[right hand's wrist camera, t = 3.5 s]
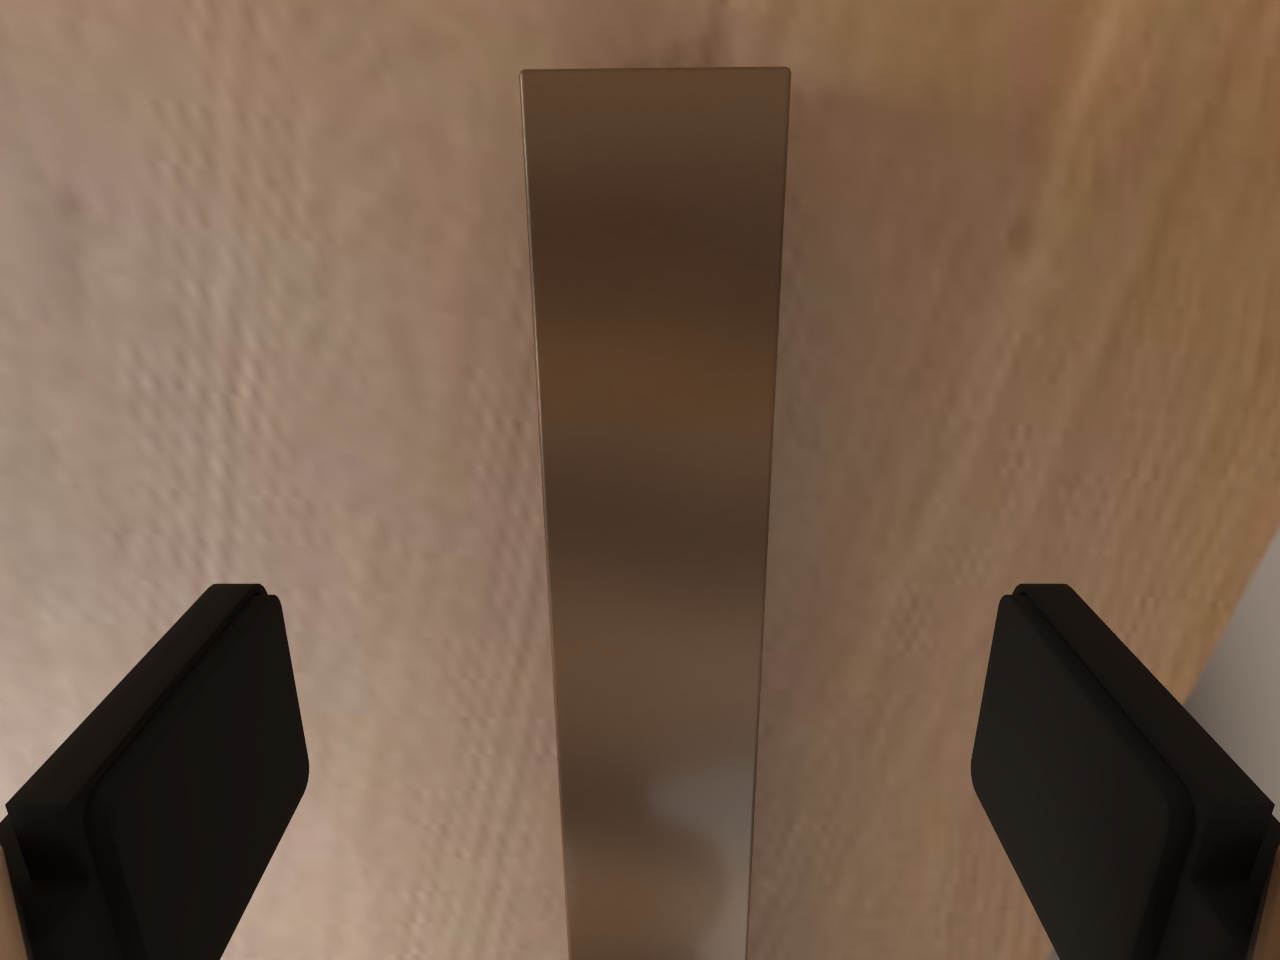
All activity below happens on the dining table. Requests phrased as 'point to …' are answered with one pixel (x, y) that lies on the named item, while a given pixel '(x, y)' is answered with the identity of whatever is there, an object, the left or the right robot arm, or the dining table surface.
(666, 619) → the beam
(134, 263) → the dining table surface
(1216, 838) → the right robot arm
